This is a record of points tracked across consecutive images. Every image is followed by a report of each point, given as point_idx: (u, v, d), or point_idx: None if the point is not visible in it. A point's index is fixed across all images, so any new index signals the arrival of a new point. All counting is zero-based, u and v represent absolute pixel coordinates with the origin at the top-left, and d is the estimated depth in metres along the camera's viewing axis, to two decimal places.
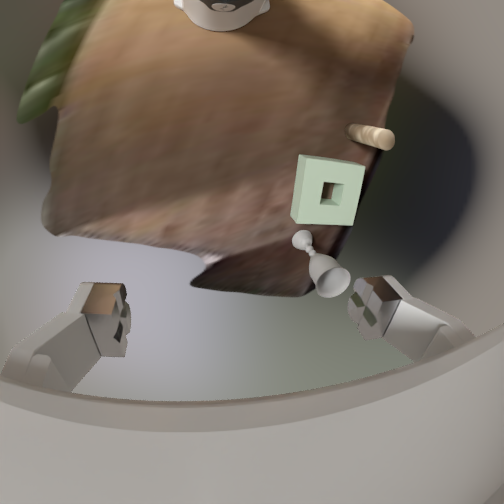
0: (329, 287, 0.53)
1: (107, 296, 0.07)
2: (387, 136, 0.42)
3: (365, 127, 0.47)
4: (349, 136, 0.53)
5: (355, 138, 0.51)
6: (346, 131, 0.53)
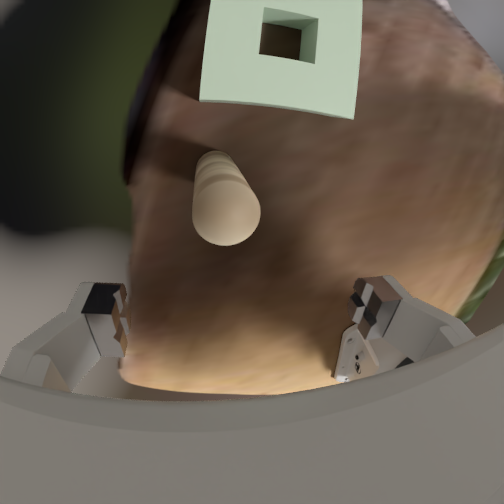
0: None
1: (107, 296, 0.07)
2: (226, 225, 0.16)
3: None
4: (233, 161, 0.25)
5: None
6: None
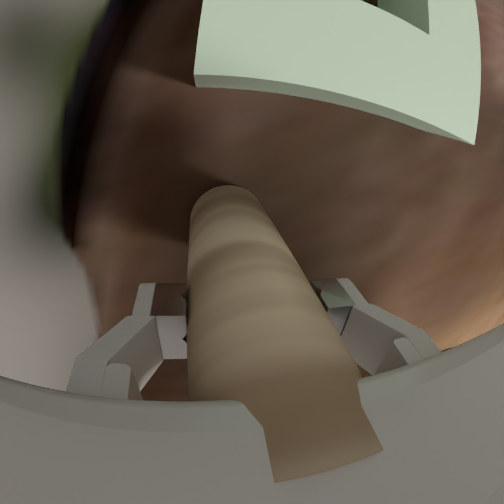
0: None
1: (175, 297, 0.07)
2: None
3: None
4: (264, 210, 0.13)
5: (276, 230, 0.11)
6: None
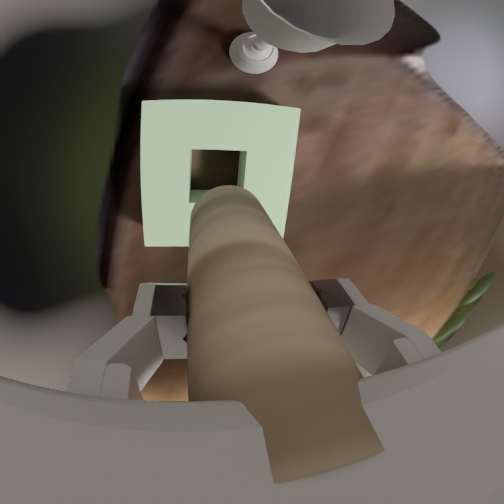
0: None
1: (175, 297, 0.07)
2: None
3: None
4: (265, 211, 0.13)
5: (276, 230, 0.11)
6: None
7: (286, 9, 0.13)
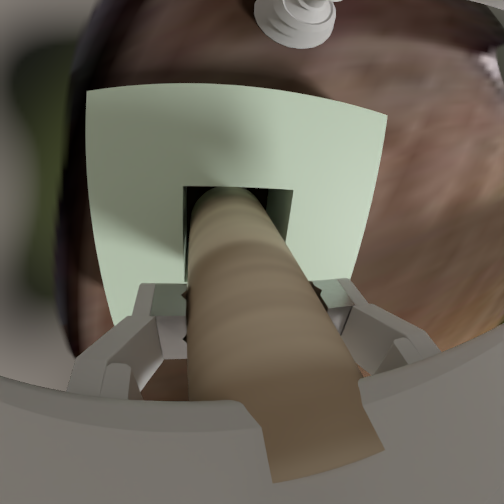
0: None
1: (175, 297, 0.07)
2: None
3: None
4: None
5: (276, 230, 0.11)
6: None
7: None
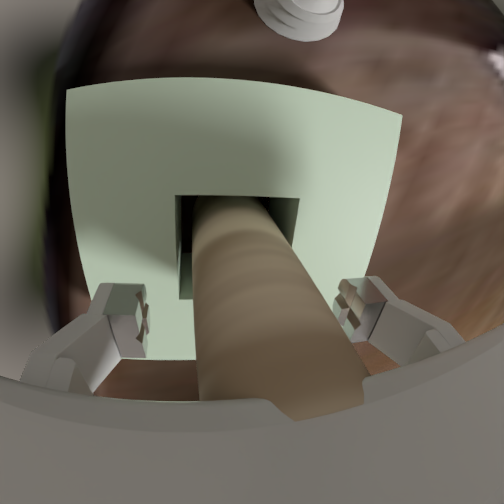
0: None
1: (129, 297, 0.07)
2: None
3: None
4: (262, 205, 0.14)
5: (273, 222, 0.12)
6: None
7: None
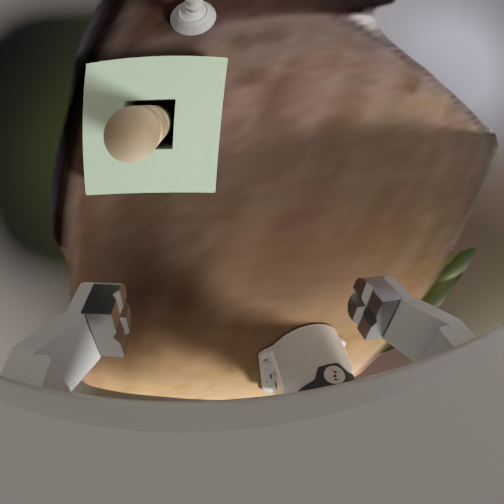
0: None
1: (107, 296, 0.07)
2: (131, 144, 0.16)
3: None
4: (168, 111, 0.25)
5: (165, 111, 0.23)
6: (172, 120, 0.26)
7: None
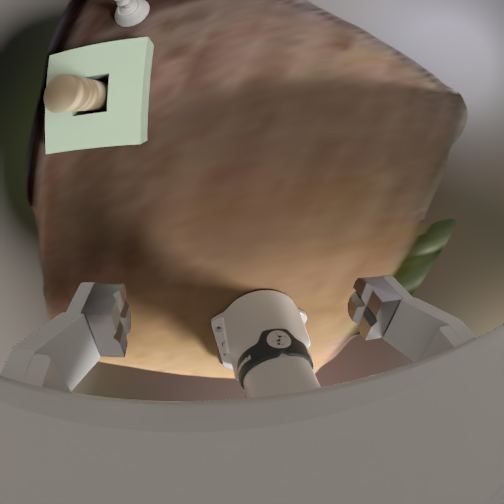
0: None
1: (107, 296, 0.07)
2: (59, 99, 0.18)
3: (91, 104, 0.23)
4: None
5: (102, 83, 0.25)
6: None
7: None
